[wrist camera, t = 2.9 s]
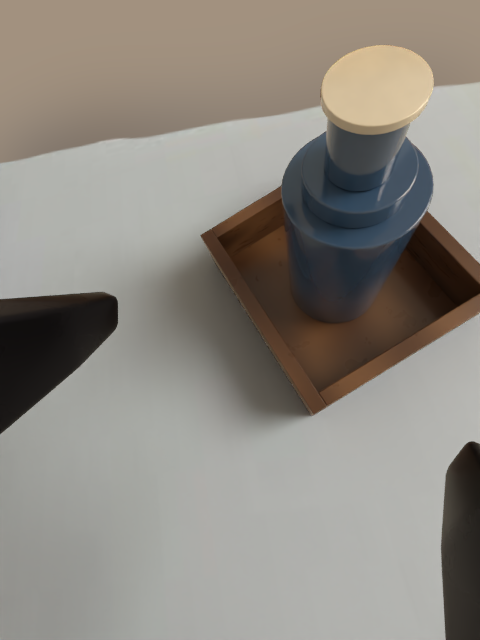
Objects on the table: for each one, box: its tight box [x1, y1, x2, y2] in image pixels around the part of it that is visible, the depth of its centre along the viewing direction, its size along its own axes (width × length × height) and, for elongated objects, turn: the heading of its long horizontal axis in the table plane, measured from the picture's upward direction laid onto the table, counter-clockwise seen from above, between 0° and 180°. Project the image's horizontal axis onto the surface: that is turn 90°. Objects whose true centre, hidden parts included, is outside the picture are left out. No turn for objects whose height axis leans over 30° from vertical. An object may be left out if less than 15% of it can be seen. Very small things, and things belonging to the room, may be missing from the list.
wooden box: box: [201, 186, 480, 416], centre depth 21 cm, size 12×13×4 cm
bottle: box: [281, 45, 434, 323], centre depth 15 cm, size 6×6×14 cm
